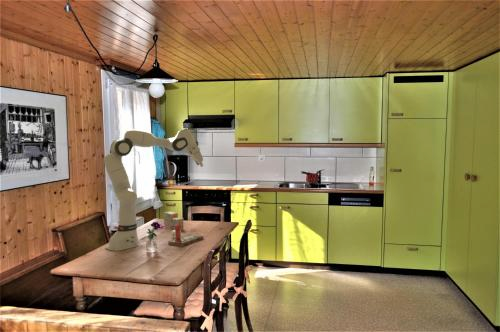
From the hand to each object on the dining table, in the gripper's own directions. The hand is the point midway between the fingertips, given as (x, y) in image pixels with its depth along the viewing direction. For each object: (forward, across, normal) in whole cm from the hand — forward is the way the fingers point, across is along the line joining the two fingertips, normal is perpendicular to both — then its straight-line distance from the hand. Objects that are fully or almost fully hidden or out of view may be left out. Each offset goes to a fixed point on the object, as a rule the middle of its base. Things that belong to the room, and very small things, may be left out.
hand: (200, 165), depth 290 cm
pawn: (+33, +24, -41) cm, 58 cm away
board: (+38, +19, -36) cm, 56 cm away
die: (+38, +5, -40) cm, 55 cm away
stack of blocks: (+41, -24, -36) cm, 60 cm away
